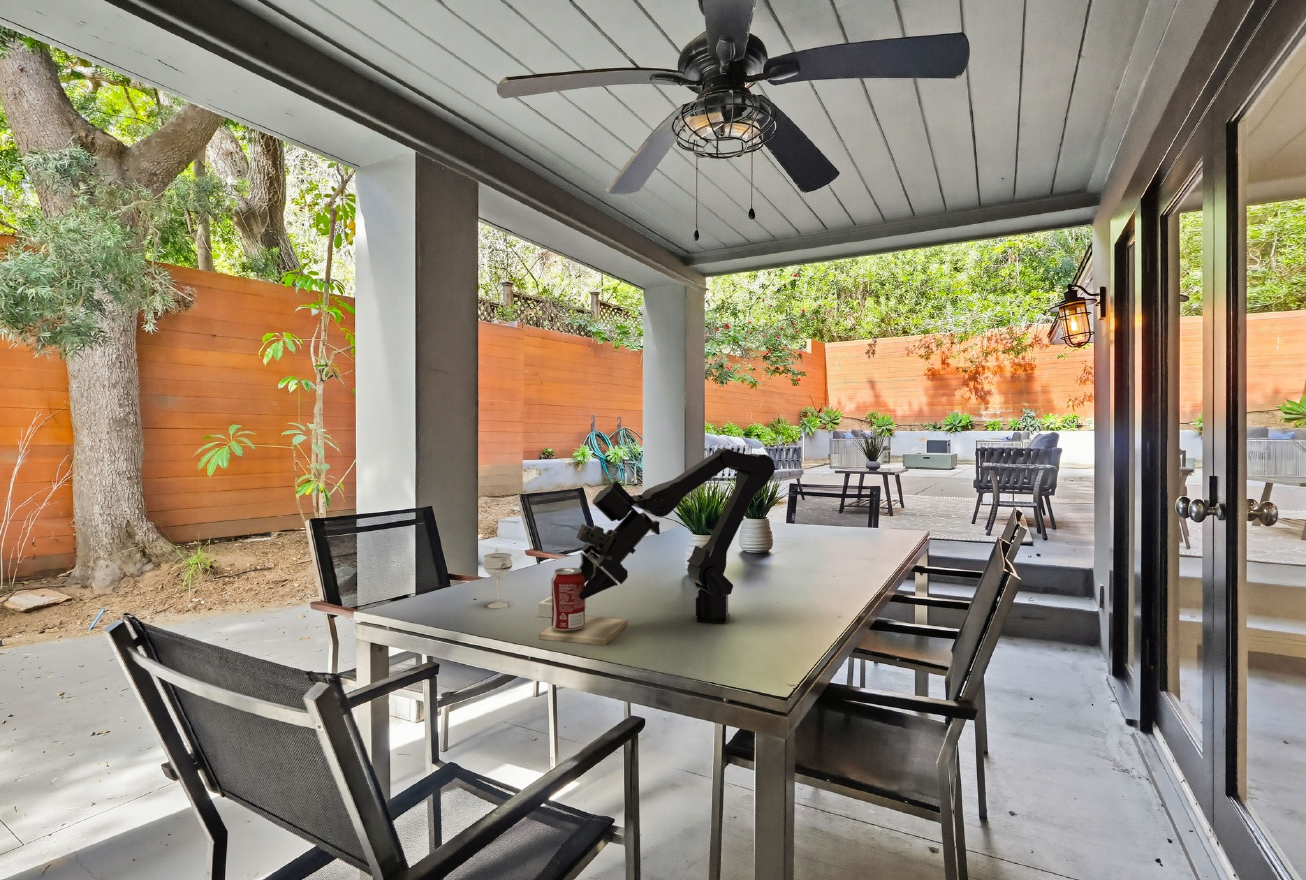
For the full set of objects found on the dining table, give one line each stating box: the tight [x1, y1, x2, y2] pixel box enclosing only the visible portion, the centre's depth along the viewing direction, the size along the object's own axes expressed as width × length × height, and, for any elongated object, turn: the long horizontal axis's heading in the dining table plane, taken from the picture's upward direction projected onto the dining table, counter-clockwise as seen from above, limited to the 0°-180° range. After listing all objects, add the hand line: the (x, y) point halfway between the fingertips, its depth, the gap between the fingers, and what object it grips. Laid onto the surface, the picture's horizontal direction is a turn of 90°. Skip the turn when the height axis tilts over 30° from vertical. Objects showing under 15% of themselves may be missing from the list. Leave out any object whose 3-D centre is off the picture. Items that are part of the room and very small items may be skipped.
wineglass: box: [483, 552, 513, 609], centre depth 152 cm, size 7×7×12 cm
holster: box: [537, 595, 587, 619], centre depth 146 cm, size 7×11×3 cm
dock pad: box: [538, 616, 629, 646], centre depth 131 cm, size 14×14×1 cm
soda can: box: [550, 567, 586, 632], centre depth 129 cm, size 7×7×12 cm
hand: (575, 593), depth 130 cm, fingers open, 9 cm apart
